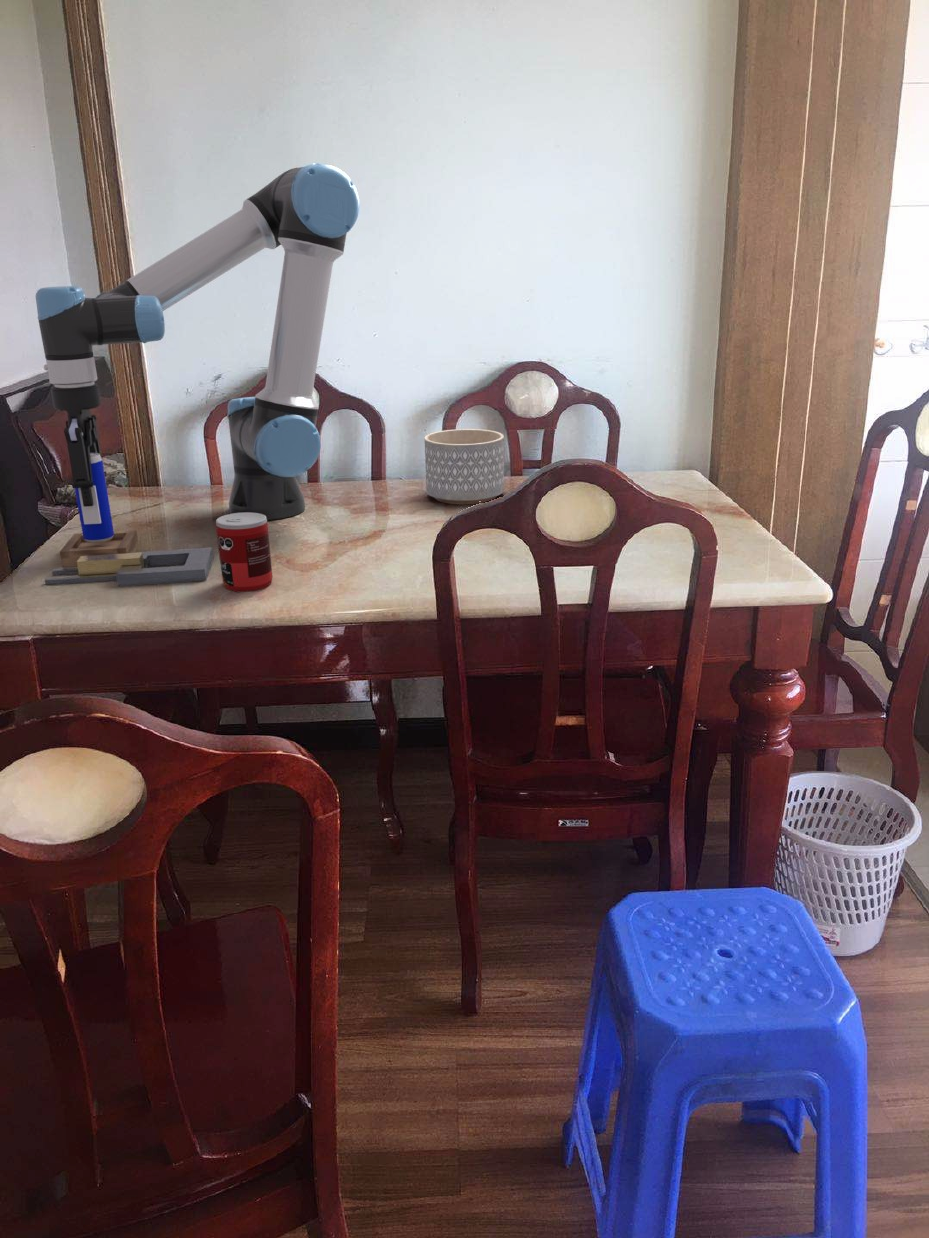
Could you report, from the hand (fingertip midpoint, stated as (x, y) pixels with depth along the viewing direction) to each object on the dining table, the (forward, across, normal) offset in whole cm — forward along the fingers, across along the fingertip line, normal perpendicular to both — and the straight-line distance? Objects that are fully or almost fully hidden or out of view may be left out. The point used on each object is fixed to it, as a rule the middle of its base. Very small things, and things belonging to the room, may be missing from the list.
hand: (96, 518), depth 175 cm
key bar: (+7, +12, +4) cm, 14 cm away
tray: (+7, 0, 0) cm, 7 cm away
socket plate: (+7, +12, +7) cm, 15 cm away
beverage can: (+4, 0, 0) cm, 4 cm away
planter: (+7, -27, +69) cm, 74 cm away
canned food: (+7, +21, +27) cm, 35 cm away
